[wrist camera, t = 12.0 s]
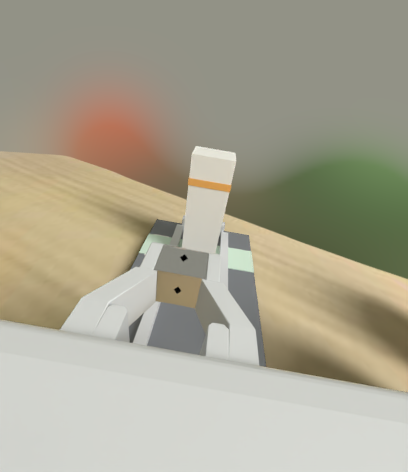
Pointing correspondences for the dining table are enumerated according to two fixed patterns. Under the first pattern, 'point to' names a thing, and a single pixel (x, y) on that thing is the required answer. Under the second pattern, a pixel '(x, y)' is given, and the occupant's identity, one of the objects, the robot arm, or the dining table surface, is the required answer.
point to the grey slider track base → (185, 318)
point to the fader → (207, 197)
